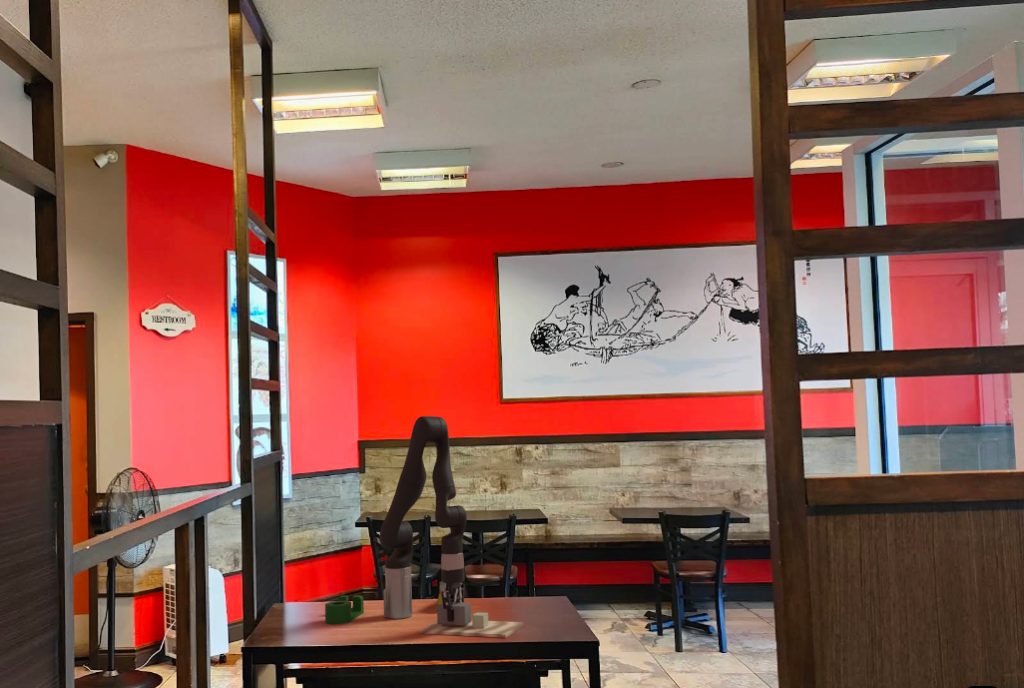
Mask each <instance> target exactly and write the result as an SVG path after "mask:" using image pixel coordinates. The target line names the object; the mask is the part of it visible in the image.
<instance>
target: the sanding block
mask: <svg viewBox="0 0 1024 688" xmlns="http://www.w3.org/2000/svg"><path fill="white" fill-rule="evenodd" d="M451 604H452V602H451ZM436 609H437V612H436V616H437V618H436V619H437V620H436V621H437V624H445V625H467V624H469V623H470V622H471V620H472V603H470V602H463V603H454V621H453V622H448V621H447V610H446V609H443V603H441V604H439V605H437V604H436Z"/></svg>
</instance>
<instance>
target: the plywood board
mask: <svg viewBox="0 0 1024 688" xmlns="http://www.w3.org/2000/svg"><path fill="white" fill-rule="evenodd" d="M523 627H524V622H523V621H522V622H521V621H520V622H519V621H518V622H517V621H500V620H499V621H495V620H488V626H487V627H485V628H472V619H471V622H470V623H469V624H467V625H445V624H437V620H436V621H434V622H432V623H431V624H428V625H427V626H425V627H423V628H422V629H419V634H427V635H446V636H463V637H464V636H466V637H479V638H480V637H484V638H502V639H503V638H504V639H506V638H508V637H510V636H511V635H512V634H514V633H515V632H517V631H518V630H519V629H521V628H523Z"/></svg>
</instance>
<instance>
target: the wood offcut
mask: <svg viewBox="0 0 1024 688" xmlns="http://www.w3.org/2000/svg"><path fill="white" fill-rule="evenodd" d="M471 620H472V628H485V627H487V626H488V621H489V612H475V613H473V614H471Z"/></svg>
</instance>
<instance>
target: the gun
mask: <svg viewBox="0 0 1024 688" xmlns="http://www.w3.org/2000/svg"><path fill="white" fill-rule="evenodd" d="M460 583H461V584H463V582H460ZM445 589H446V583H444V582H442V581H439V594H438V597H437V601H436V602H437V603H436V606H437V605H439V604H441V603H443V602H442V595H441V592H442V591H445ZM436 613H437V608H436Z"/></svg>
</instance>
